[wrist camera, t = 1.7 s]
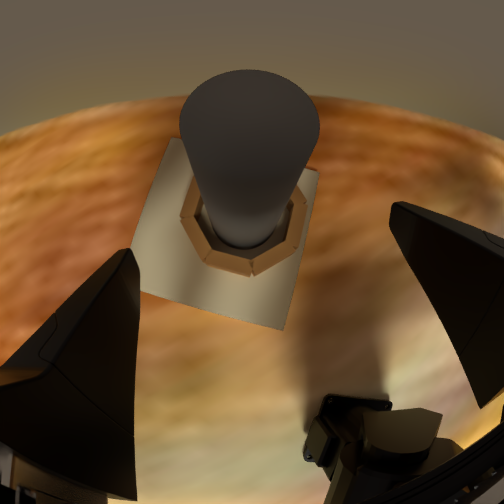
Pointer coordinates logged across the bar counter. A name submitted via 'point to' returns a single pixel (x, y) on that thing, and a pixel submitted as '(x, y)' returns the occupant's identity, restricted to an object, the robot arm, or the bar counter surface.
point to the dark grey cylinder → (247, 150)
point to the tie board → (217, 249)
